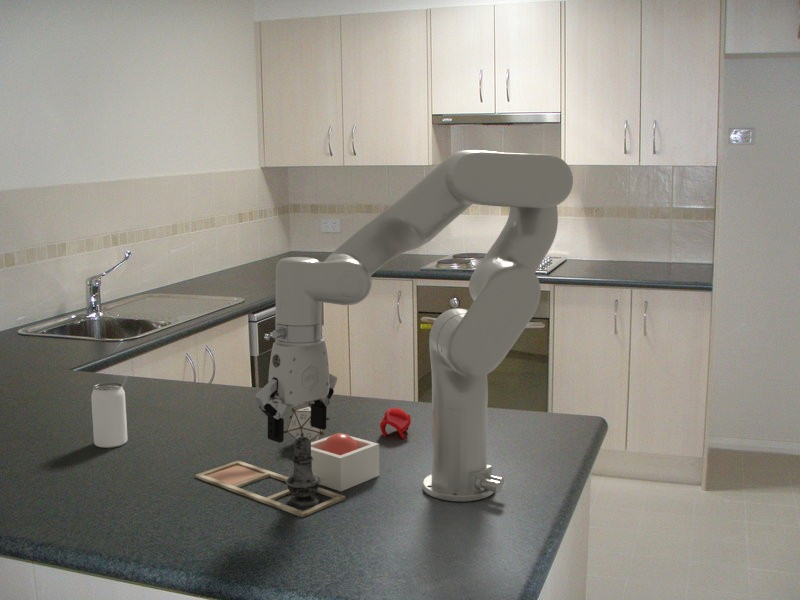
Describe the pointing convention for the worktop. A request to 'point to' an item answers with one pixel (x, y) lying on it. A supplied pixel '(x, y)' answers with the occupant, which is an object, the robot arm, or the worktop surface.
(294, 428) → the game die
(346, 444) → the pop dome
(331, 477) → the dome housing
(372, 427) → the worktop surface
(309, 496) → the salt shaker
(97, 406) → the can
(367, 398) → the worktop surface
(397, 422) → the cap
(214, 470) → the game track
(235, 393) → the worktop surface
